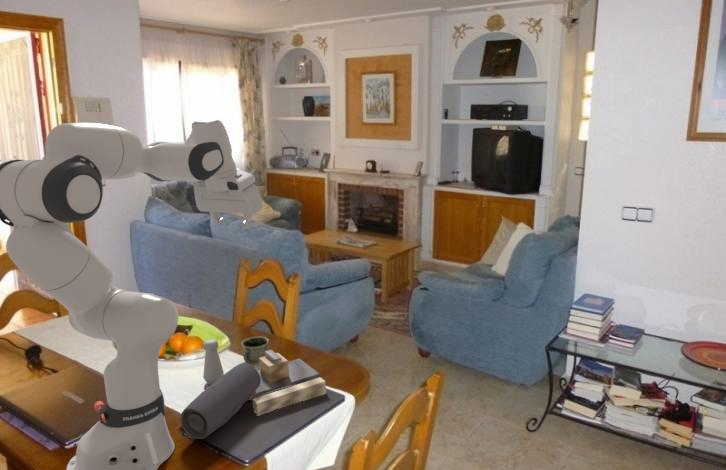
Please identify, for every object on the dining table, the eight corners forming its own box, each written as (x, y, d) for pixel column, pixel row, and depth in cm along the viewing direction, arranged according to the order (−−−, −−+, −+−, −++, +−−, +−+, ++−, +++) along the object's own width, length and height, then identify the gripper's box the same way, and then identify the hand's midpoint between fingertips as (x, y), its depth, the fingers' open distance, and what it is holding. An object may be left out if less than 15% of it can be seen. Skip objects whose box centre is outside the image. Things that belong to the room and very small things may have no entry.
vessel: (256, 350, 180) (255, 332, 179) (279, 354, 177) (277, 336, 175) (233, 365, 170) (231, 346, 169) (256, 370, 166) (255, 351, 165)
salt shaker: (218, 387, 156) (214, 345, 153) (200, 386, 157) (196, 344, 154) (227, 378, 161) (223, 337, 159) (210, 377, 162) (205, 336, 160)
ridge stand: (248, 401, 148) (245, 373, 146) (231, 383, 158) (229, 357, 157) (319, 378, 159) (318, 352, 157) (299, 362, 170) (298, 338, 168)
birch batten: (258, 417, 140) (256, 403, 139) (253, 412, 142) (252, 398, 141) (326, 394, 150) (325, 381, 149) (320, 390, 153) (320, 377, 152)
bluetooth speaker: (236, 392, 151) (230, 359, 148) (265, 395, 147) (259, 362, 145) (182, 441, 130) (174, 404, 128) (214, 446, 127) (207, 408, 125)
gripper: (184, 182, 146) (197, 228, 152) (245, 184, 137) (257, 233, 143) (199, 173, 151) (212, 218, 157) (259, 175, 142) (270, 223, 148)
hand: (234, 226), depth 150 cm, fingers open, 8 cm apart
